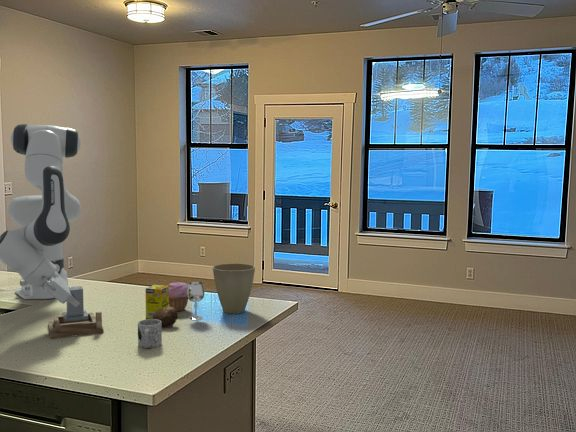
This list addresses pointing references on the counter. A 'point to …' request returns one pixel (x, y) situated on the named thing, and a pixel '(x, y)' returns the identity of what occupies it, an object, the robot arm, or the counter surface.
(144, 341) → the mug
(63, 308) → the counter surface
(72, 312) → the grey block on base
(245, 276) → the plant pot
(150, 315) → the supplement box
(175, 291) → the cupcake
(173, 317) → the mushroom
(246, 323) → the counter surface
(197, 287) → the wineglass
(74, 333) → the brown wooden square tray
